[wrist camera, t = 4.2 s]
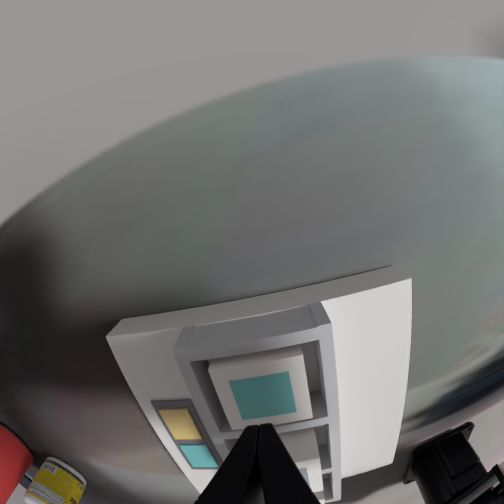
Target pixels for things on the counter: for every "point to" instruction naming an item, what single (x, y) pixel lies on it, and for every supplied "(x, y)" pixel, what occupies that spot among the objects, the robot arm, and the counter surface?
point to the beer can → (12, 462)
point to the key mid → (305, 455)
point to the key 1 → (262, 387)
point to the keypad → (271, 337)
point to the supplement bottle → (55, 484)
